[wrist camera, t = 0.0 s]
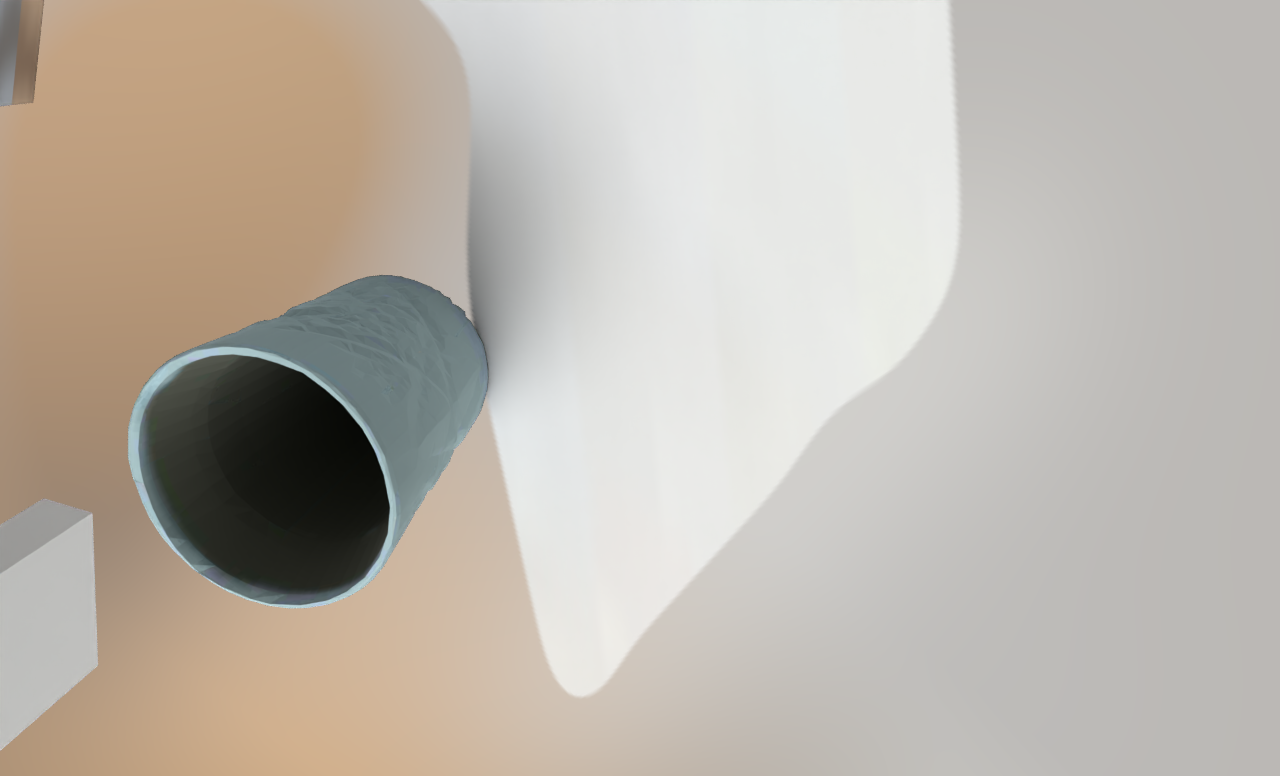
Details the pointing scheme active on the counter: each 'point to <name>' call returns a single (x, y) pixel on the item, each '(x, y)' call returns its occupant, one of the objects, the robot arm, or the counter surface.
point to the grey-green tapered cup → (307, 438)
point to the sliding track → (19, 49)
